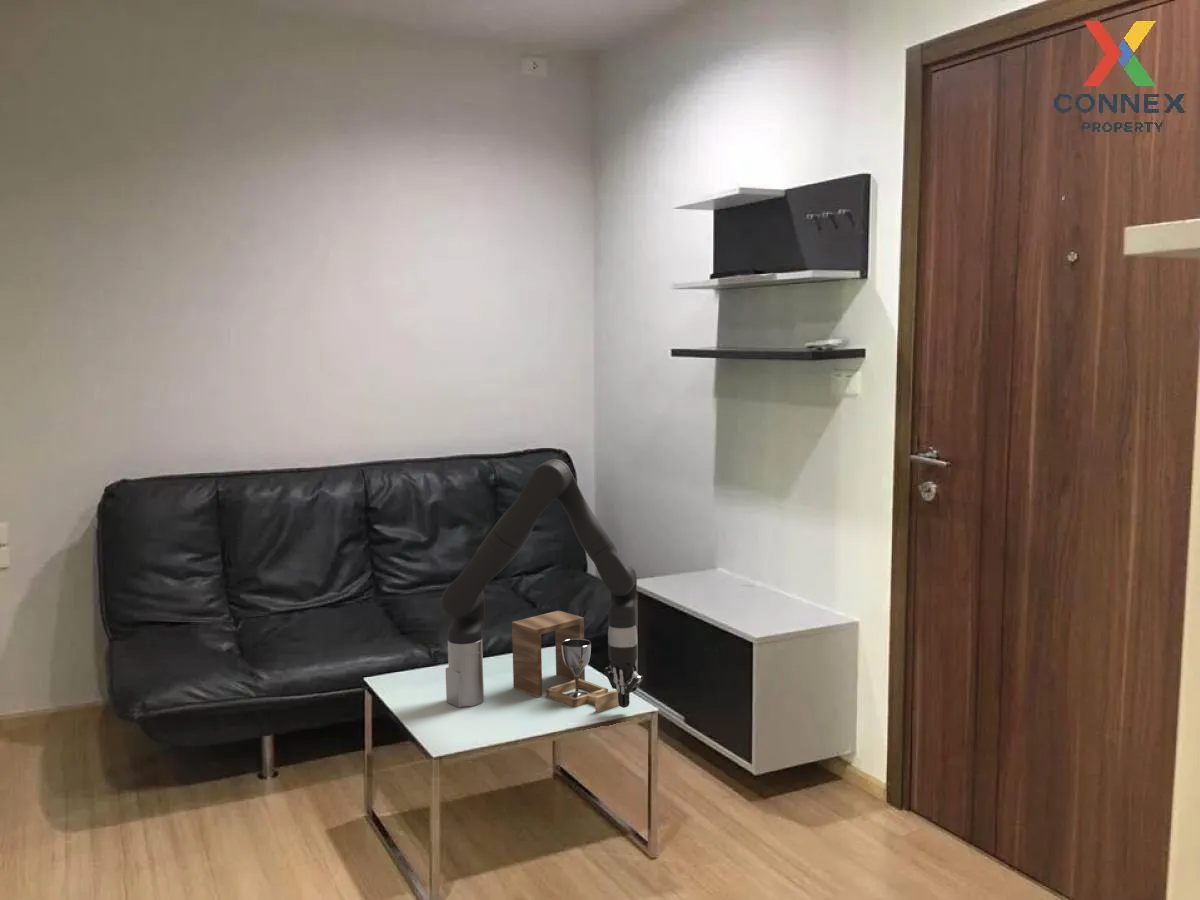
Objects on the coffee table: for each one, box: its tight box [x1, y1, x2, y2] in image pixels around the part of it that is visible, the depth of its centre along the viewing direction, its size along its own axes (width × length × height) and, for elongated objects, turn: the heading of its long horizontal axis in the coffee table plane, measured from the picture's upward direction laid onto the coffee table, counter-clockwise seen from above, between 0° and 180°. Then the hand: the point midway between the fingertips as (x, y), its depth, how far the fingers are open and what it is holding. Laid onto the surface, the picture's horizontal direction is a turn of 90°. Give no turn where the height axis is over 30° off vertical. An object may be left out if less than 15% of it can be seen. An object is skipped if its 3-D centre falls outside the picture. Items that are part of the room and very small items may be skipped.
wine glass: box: [562, 638, 592, 698], centre depth 279 cm, size 8×8×15 cm
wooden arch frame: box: [511, 610, 586, 698], centre depth 288 cm, size 17×11×19 cm, turn 132°
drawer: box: [545, 679, 619, 713], centre depth 277 cm, size 12×19×4 cm, turn 42°
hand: (624, 706), depth 266 cm, fingers closed
